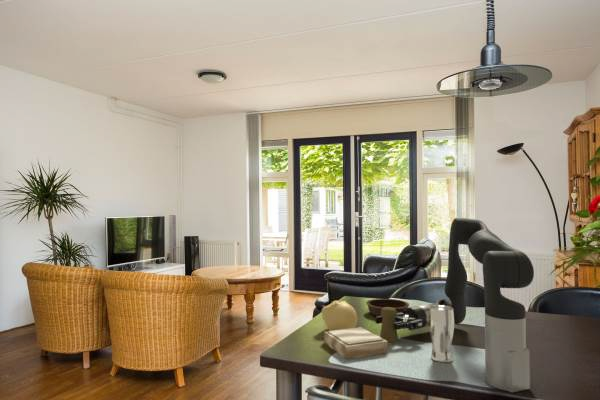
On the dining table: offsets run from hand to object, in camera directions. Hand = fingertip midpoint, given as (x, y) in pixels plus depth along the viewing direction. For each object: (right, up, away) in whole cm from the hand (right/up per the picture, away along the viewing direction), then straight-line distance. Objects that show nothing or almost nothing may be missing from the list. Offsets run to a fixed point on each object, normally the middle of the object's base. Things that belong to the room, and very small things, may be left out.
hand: (384, 323), depth 139 cm
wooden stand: (-11, -6, -6) cm, 14 cm away
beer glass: (+14, -6, -16) cm, 22 cm away
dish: (+8, -7, +36) cm, 37 cm away
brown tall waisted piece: (+2, -6, +1) cm, 6 cm away
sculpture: (-14, -7, +12) cm, 19 cm away
